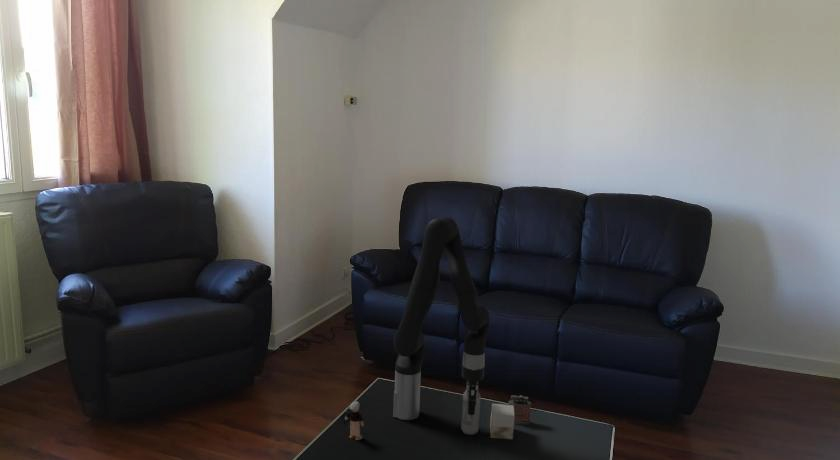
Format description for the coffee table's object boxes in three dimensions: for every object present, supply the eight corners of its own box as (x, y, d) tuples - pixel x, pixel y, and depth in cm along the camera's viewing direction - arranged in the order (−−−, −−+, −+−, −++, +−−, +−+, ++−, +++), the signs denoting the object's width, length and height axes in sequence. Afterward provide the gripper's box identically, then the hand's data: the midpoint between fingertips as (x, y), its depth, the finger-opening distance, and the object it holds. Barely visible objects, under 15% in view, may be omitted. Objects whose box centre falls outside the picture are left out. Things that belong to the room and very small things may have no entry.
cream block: (491, 426, 206) (492, 413, 205) (491, 415, 213) (491, 403, 213) (513, 427, 205) (514, 415, 204) (512, 417, 213) (513, 405, 212)
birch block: (490, 438, 207) (491, 426, 206) (489, 427, 214) (490, 415, 213) (512, 439, 206) (513, 427, 205) (511, 428, 214) (512, 417, 213)
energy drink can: (481, 433, 209) (484, 392, 207) (467, 437, 206) (470, 396, 204) (471, 425, 214) (473, 385, 212) (457, 429, 211) (459, 389, 209)
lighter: (529, 420, 220) (531, 394, 218) (530, 425, 216) (532, 399, 214) (507, 418, 220) (508, 393, 218) (507, 423, 217) (509, 397, 215)
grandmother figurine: (367, 436, 205) (367, 401, 202) (362, 441, 201) (363, 406, 199) (346, 431, 207) (347, 397, 205) (341, 437, 203) (342, 402, 201)
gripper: (462, 355, 213) (460, 399, 216) (462, 372, 199) (460, 419, 202) (483, 356, 213) (481, 401, 216) (485, 373, 199) (482, 420, 202)
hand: (471, 409), depth 209 cm, fingers closed on energy drink can, 6 cm apart
